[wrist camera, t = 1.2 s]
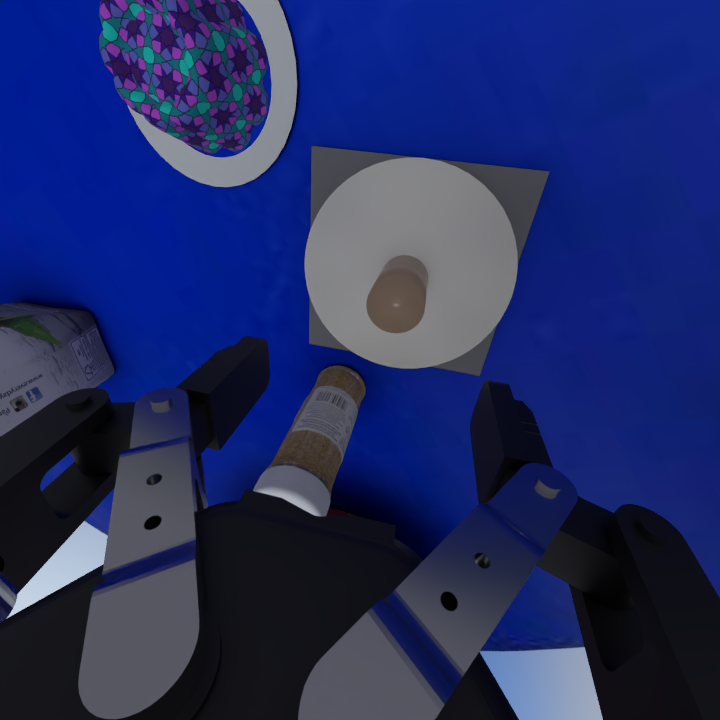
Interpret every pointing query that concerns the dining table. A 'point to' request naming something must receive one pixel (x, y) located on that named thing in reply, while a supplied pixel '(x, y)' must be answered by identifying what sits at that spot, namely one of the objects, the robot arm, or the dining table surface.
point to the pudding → (203, 81)
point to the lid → (411, 262)
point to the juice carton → (46, 358)
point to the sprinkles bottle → (316, 442)
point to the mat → (505, 183)
